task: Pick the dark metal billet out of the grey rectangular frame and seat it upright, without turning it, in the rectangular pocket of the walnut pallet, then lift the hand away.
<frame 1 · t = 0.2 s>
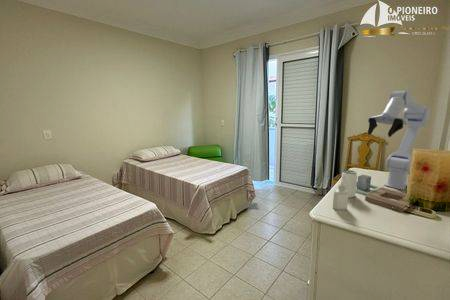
hand: (378, 134, 91), 31 cm above the table, tool tilted 45°, fingers open, 7 cm apart
billet: (363, 182, 108), in the grey rectangular frame
grey rectangular frame: (363, 189, 108), on the table
eye dropper bottle: (339, 208, 89), on the table
can: (347, 195, 102), on the table
pallet: (391, 200, 95), on the table
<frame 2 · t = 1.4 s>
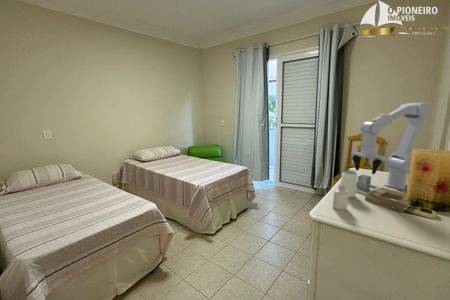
hand: (365, 171, 106), 10 cm above the table, tool pointing down, fingers open, 7 cm apart
nothing on the table moved.
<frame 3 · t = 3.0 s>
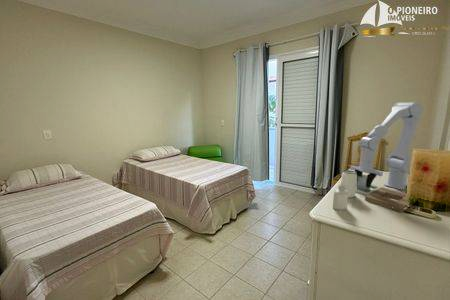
hand: (363, 185, 108), 2 cm above the table, tool pointing down, fingers closed on billet, 4 cm apart
billet: (363, 182, 108), in the grey rectangular frame, touching gripper
everything else where it was.
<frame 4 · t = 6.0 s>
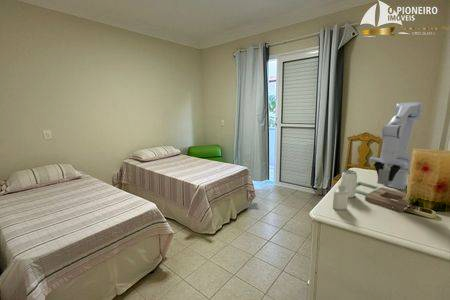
hand: (385, 179, 97), 9 cm above the table, tool pointing down, fingers closed on billet, 4 cm apart
billet: (385, 176, 97), point 10 cm above the table, touching gripper
everything else where it was.
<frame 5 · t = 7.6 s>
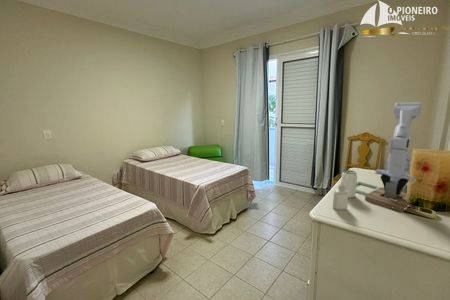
hand: (392, 192, 94), 4 cm above the table, tool pointing down, fingers closed on billet, 4 cm apart
billet: (392, 189, 94), point 5 cm above the table, touching gripper
everything else where it was.
when the fingers open (3 cm above the table, at t = 9.0 s): billet stays where it is, resting in pallet.
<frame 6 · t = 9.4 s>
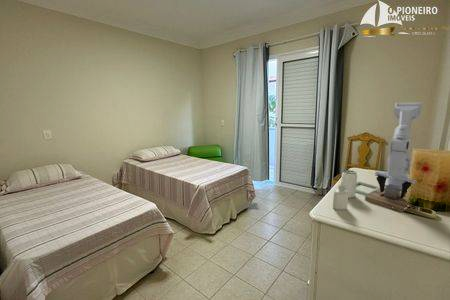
hand: (391, 194, 95), 3 cm above the table, tool pointing down, fingers open, 7 cm apart
billet: (392, 193, 94), in the pallet
everything else where it was.
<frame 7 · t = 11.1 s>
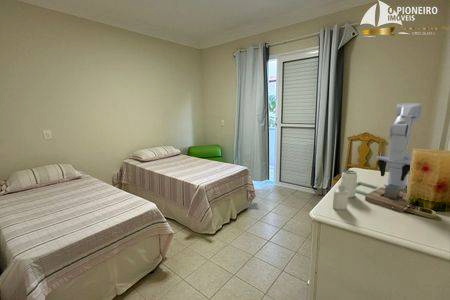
hand: (392, 178, 97), 9 cm above the table, tool pointing down, fingers open, 7 cm apart
nothing on the table moved.
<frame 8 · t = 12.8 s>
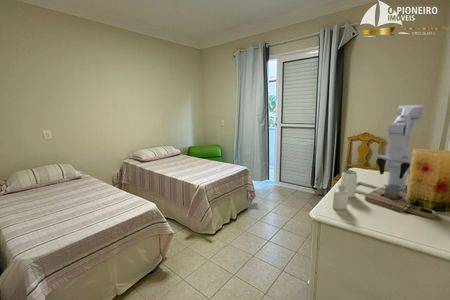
hand: (391, 176, 100), 9 cm above the table, tool pointing down, fingers open, 7 cm apart
nothing on the table moved.
at the end: billet 0.1 cm off-centre on the pallet, point 3.4 cm above the pallet's base; billet tilted 0°; the gripper is holding nothing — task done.
